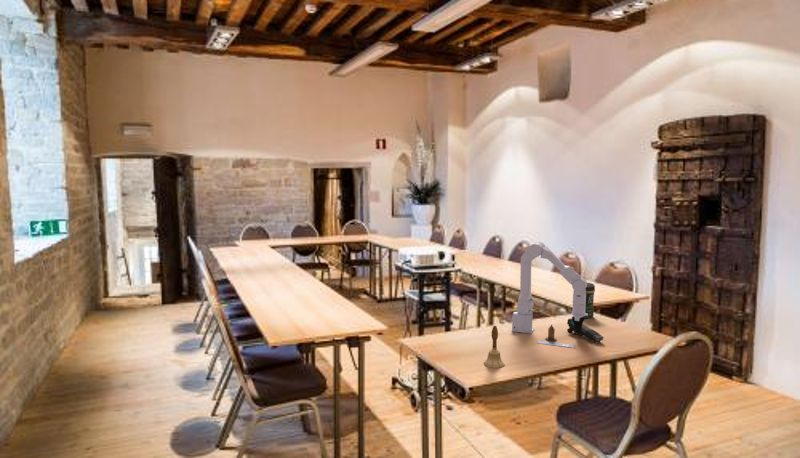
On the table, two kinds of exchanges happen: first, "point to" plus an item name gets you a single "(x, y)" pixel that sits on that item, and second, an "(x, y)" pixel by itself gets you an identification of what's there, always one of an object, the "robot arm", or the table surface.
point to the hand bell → (494, 353)
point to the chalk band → (556, 344)
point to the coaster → (551, 340)
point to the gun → (585, 332)
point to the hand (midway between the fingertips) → (577, 332)
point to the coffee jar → (589, 300)
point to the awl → (551, 333)
